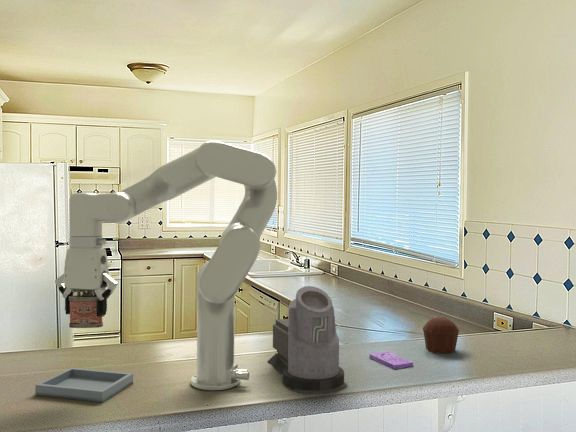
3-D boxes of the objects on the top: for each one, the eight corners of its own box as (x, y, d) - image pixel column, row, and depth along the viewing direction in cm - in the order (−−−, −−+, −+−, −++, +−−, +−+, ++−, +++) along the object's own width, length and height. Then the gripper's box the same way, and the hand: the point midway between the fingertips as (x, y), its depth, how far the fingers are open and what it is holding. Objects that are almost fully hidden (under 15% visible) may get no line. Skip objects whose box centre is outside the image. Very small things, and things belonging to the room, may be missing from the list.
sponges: (387, 356, 173) (387, 350, 173) (414, 368, 162) (414, 361, 161) (368, 359, 170) (368, 353, 170) (394, 371, 158) (394, 364, 158)
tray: (133, 383, 144) (133, 373, 144) (102, 402, 131) (102, 391, 130) (71, 377, 148) (71, 367, 148) (35, 395, 135) (35, 384, 135)
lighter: (104, 324, 141) (104, 284, 140) (100, 328, 137) (100, 287, 137) (71, 324, 140) (71, 285, 140) (67, 328, 137) (66, 287, 137)
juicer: (357, 390, 141) (358, 293, 140) (297, 397, 135) (298, 296, 135) (310, 357, 169) (312, 276, 168) (259, 362, 164) (260, 278, 163)
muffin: (424, 343, 187) (424, 313, 186) (459, 346, 183) (459, 316, 183) (420, 353, 175) (421, 321, 175) (458, 356, 172) (458, 324, 171)
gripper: (125, 243, 140) (125, 313, 140) (64, 241, 144) (64, 309, 145) (109, 245, 132) (109, 319, 133) (44, 243, 137) (45, 315, 137)
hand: (85, 314), depth 139 cm, fingers closed on lighter, 8 cm apart
